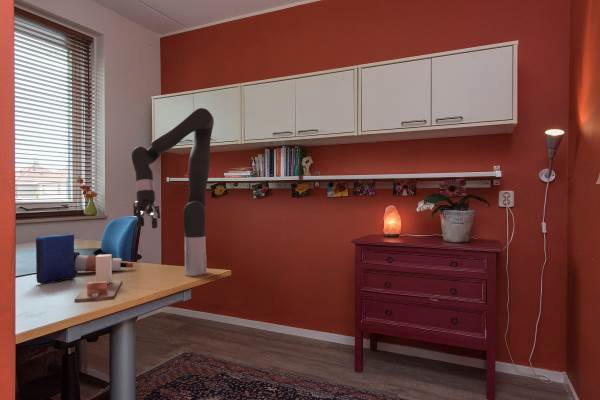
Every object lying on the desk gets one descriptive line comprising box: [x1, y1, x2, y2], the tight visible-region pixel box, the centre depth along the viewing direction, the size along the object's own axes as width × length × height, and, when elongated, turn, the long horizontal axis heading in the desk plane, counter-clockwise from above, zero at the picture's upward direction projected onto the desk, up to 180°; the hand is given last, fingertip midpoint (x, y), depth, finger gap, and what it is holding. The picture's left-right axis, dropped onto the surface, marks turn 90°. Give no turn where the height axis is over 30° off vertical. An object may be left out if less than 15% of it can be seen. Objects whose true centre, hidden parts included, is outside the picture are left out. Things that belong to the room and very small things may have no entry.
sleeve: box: [95, 253, 113, 284], centre depth 151 cm, size 5×5×11 cm
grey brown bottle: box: [74, 251, 134, 274], centre depth 178 cm, size 10×34×10 cm, turn 105°
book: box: [35, 232, 77, 285], centre depth 159 cm, size 14×5×20 cm, turn 150°
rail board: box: [74, 279, 123, 303], centre depth 142 cm, size 12×26×5 cm, turn 20°
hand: (148, 227), depth 163 cm, fingers open, 8 cm apart
